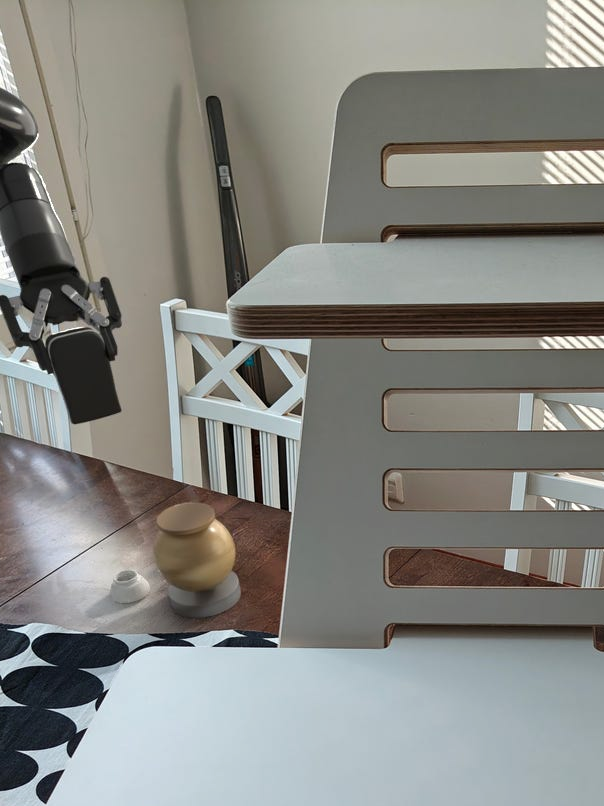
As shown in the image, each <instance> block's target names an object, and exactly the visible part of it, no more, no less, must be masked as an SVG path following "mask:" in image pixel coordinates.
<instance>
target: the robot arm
mask: <svg viewBox="0 0 604 806" xmlns="http://www.w3.org/2000/svg"><path fill="white" fill-rule="evenodd" d="M38 137H39V127H38V122H37V120H36V118H35V115H34V113H32V111H31V110H30V109H29V107H28V106H27V105H26V104H25V102H23V101H22V100H21V99H20V98H18V97H17V96H16V95H15V94H13V93H12V92H10V91H8V90H7V89H4V88H2V87H1V86H0V237H1V240H2V243H3V246H4V250H5V253H6V255H7V256H8V259H9V262H10V264H11V267H12V269H13V272H14V275H15V277H16V280H17V283H18V286H19V289H20V293H19V295H16V296H12V297H8V296H7V295H5V294H0V312H1V315H2V318H3V320H4V321H5V324H6V327H7V329H8V332H9V334H10V337H11V339H12V341H13V344H14V345H15V346H16V347H17V348H23V347H27V348H30V349H31V350H32V351H33V355H34V357H35V359H36V362H37V365H38V368H39V369H40V370H41V372H44V371H46V373H47V375H53V373H54V372H53V367H52V364H51V361H50V358H49V356H48V353H47V350H46V348H45V342H44V338H45V335H46V334H47V330H48V327H49V324H50V325H51V324H52V326H57V325H60V324H63V323H65V322H69V323H73V322H78V320H79V319H80V320H81V321H83V323H85V324H86V325H88V327H90V326H91V328H92V329H93V328H94V330H95V331H96V332H98V333H99V334H100V335H101V337H102V339H103V341H104V344H105V347H106V350H107V354H108V357H109V361H110V362H114V361H116V356H118V353H119V349H118V345H117V342H116V339H115V336H114V334H113V331H114V330H115V329H120V328H121V327H122V325H123V322H122V312H121V309H120V306H119V304H118V301H117V300H118V299H117V297H116V294H115V291H114V288H113V285H112V282H111V280H110V278H109V277H107V276H102V277H100V279H99V281H93V282H88V281H86V280H85V279H84V278H83V277H82V274H81V272H80V269H79V267H78V264H77V262H76V259H75V256H74V254H73V251H72V248H71V246H70V243H69V241H68V238H67V235H66V233H65V230H64V227H63V224H62V222H61V221H60V219H59V217H58V215H57V214H56V212H55V211H56V210H55V208H54V206H53V204H52V202H51V198H50V196H49V193H48V190H47V188H46V184H45V183H44V181H43V178H42V176H41V174H40V173H39V172H38V171H37V170H36V168H34V167H33V166H31V165H29V164H27V163H23V162H12V161H14V160H15V159H16V158H18V157H19V156H20V155H22V154H23V153H25V152H26V151H27V150H29V149H30V148H32V147H33V146H34V144H35V143H36V142H37V140H38ZM91 294H93V295H95V296H96V298H97V299H98V300H100V301H103V302H104V304H105V307H106V311H107V313H108V315H107V316H106V317H105V315H103V314H102V313H101V312H100V311H98V310H97V308H96V307H95V306H94V305H93V304H92V303H91V302H89V299H90V296H91ZM21 307H23V308H24V309H26V310H28V311H29V312H31V313H32V314H33V315H32V316H33V317H32V322H31V326H30V329H29V332H28V331H22V328H21V326H20V324H19V321H18V318H17V317H18V316H19V315H20V308H21Z"/></svg>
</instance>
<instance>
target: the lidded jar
mask: <svg viewBox="0 0 604 806" xmlns="http://www.w3.org/2000/svg"><path fill="white" fill-rule="evenodd" d="M156 525H157V528H158V532H157V534H156V536H155V539H154V543H153V549H152V554H153V560H154V564H155V567H156V569H157V571H158V572H159V575H160V576H161V577H162V579H164V580H165V581H166V582H167V583H168V584H169V585H168V588H167V595H168V599H169V603H170V605H171V608H172V610H173V611H174V612H175V613H176V614H178V615H179V616H182V617H185V618H189V619H190V618H191V619H204V618H210V617H213V616H218V615H220V614H222V612H223V613H224V611H225V612H227V611H228V610H230V609H232V608H233V607H234V606H235V605H236V604H237V603H238V602H239V600H240V599H241V595H242V589H241V585H240V580H239V577H238V576H237V575H238V574H237V573H235V572H234V571H233V568H234V566H235V562H236V545H235V541H234V539H233V536H232V535H231V533H230V531H229V530H228V528H227V527H226V526H225V525H224V524H223V523H222V522H221V521H219V520H218V519H216V513H215V509H214V508H213V507H212V506H211V505H209V504H207V503H203V502H194V501H192V502H183V503H178V504H175V505H173V506H170V507H168V508H166V509H164V510H163V511H161V513H159V515H158V516H157V518H156ZM209 616H210V617H209Z"/></svg>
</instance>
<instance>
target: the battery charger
mask: <svg viewBox="0 0 604 806" xmlns="http://www.w3.org/2000/svg"><path fill="white" fill-rule="evenodd" d="M44 345H45V348H46V350H47V353H48V356H49V358H50V361H51V364H52V367H53V372H54V373H53V374H52V375H53V376H54V378H55V380H56V381H55V382H56V383H57V387H58V390H59V391H60V395H61V396H62V400H63V403H64V406H65V409H66V413H67V417H68V420H69V422H70V423H71V424H72V425H79V424H84V423H88V422H93V421H96V420H101V419H104V418H107V417H112V416H114V415H117V414H120V413H122V412H123V411H122V406H121V403H120V400H119V396H118V392H117V389H116V383H115V379H114V373H113V371H112V365H111V361H109V357H108V354H107V350H106V347H105V344H104V341H103V339H102V337H101V335H100V332H98V331H97V330H95V329H93V328H92V327H90V326H79V327H75V328H70V329H65V330H62V331H58V332H54V333H51V334H50V335H48V336H47V337H46V339H45V342H44Z"/></svg>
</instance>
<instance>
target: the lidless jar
mask: <svg viewBox="0 0 604 806" xmlns="http://www.w3.org/2000/svg"><path fill="white" fill-rule="evenodd" d="M150 590H151V586H150V584H149V582H148V581H147V580H146V579H145V578H144V577H143V576H142V575H141V574H139V573H138V572H137V571H136V570H134V569H123V570H120V571H118V572H117V573H115V574H114V576H113V579H112V583H111V586H110V589H109V596H110V599H111V600H112V601H114V602H116V603H120V604H127V603H133V602H136V601H139V600H141V599H143V598H145V597H146V596H147V595H148V594H149V593H150Z"/></svg>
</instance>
